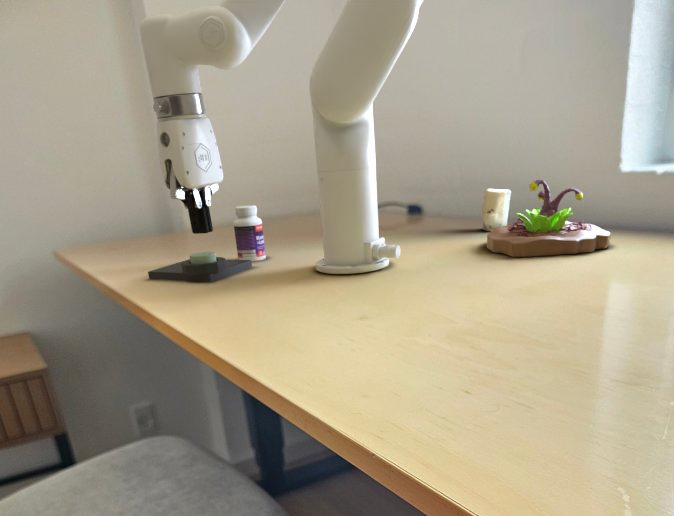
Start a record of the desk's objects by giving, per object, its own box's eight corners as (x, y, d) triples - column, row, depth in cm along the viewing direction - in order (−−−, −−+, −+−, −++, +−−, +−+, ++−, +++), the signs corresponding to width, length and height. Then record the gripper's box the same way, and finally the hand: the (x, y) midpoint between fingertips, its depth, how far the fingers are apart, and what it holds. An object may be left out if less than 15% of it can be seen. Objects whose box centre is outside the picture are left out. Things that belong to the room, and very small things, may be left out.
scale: (255, 267, 119) (253, 250, 117) (209, 284, 109) (206, 265, 107) (193, 265, 126) (190, 249, 124) (144, 281, 115) (141, 263, 114)
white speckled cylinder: (509, 227, 139) (510, 186, 136) (510, 231, 135) (511, 189, 131) (481, 228, 140) (482, 188, 137) (481, 232, 136) (482, 191, 132)
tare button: (222, 260, 113) (220, 251, 112) (205, 266, 109) (204, 256, 109) (202, 260, 115) (200, 251, 114) (185, 265, 111) (184, 256, 111)
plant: (473, 242, 125) (474, 179, 120) (571, 233, 127) (576, 170, 122) (508, 261, 108) (511, 188, 103) (623, 250, 109) (631, 177, 104)
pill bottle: (264, 261, 124) (258, 207, 120) (236, 263, 125) (229, 209, 120) (267, 256, 129) (261, 203, 125) (240, 258, 129) (233, 205, 125)
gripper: (165, 109, 94) (191, 240, 102) (228, 105, 106) (247, 224, 114) (128, 114, 98) (155, 241, 106) (192, 110, 109) (213, 225, 117)
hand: (202, 232), depth 110 cm, fingers closed
